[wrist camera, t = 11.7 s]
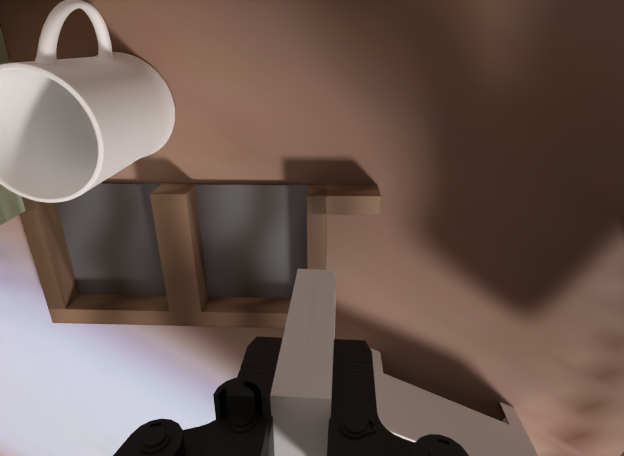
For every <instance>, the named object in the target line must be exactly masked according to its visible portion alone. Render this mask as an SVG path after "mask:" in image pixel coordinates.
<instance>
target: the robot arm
mask: <svg viewBox="0 0 624 456" xmlns="http://www.w3.org/2000/svg"><path fill="white" fill-rule="evenodd" d="M336 271H337V270H318V269H298V270H297V275H296V279H295V284H294V288H293V293H292V298H291V302H290V307H289V311H288V316H287V321H286V325H285V330H284V334H283V338H276V337H256V338H255V339H254V340H253V341H252V342H251V343H250V344H249V345H248V347H247V350H246V353H245V356H244V360H243V362H242V365H241V369H240V371H239V374H238V377H237V378H234V379H231V380H229V381H226V382H225V383H223V384H222V385H221V386H219V387H218V388H217V390H216V391H215V393H214V395H213V396H214V404H215V413H216V420H214V421H213V422H211V423H209V424H206V425H203V426H200V427H195V428H191V429H186V430H182V429H181V427H180V425H179V424H178V423H176V422H174V421H173V420H169V419H158V420H153V421H150V422H148V423H146V424H144V425H142V426H140V427H139V428H138V429H137V430H135V431H134V432H133V433H132V434H131V435H130V436H129V438H128V439H127V440H126V441H125V442H124V443H123V445H122V446H121V447H120V448H119V449H118V451H117V452H116V453H115V454H114V455H113V456H469V455H468V453H467V452H466V451H465V450H464V448H463V447H462V446H461V445H460V444H459V443H457V442H456V441H454V440H453V439H451V438H449V437H446V436H443V435H439V434H429V435H426V436H423V437H420V438H419V439H418V440H417V441H416V442H412V441H409V440H406V439H403V438H401V437H399V436H397V435H394V434H393V433H391V432H390V431H389V430H387V429H386V428H385V426H384V425H383V424H382V423H381V421H380V419H379V417H378V413H377V404H376V392H375V381H374V369H373V358H372V351H371V349H370V348H369V346H368V345H367V343H366V342H365V341H361V340H340V339H335V307H336ZM621 456H624V452H623V453H622V454H621Z"/></svg>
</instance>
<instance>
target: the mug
mask: <svg viewBox="0 0 624 456" xmlns="http://www.w3.org/2000/svg"><path fill="white" fill-rule="evenodd" d="M78 8H80V9H82V10H83V11H84V12H85V13H86V14H87V15H88V16H89V18H90V20H91V22H92V24H93V26H94V29H95V32H96V36H97V40H98V55H96V56H94V57H84V58H70V59H57V56H56V49H57V42H58V37H59V33H60V30H61V28H62V25H63V23H64V21H65V19H66V18H67V17H68V15H69V14H70V13H71V12H72V11H74V10H75V9H78ZM174 122H175V107H174V102H173V98H172V95H171V92H170V90H169V88H168V86H167V84H166V83H165V81H164V80H163V78H162V77H161V76H160V75H159V73H158V72H157V71H156V70H155V69H154V68H153V67H151V66H150V65H149V64H148V63H146V62H145V61H143V60H141V59H139V58H137V57H135V56H133V55H130V54H126V53H121V52H112V45H111V40H110V36H109V32H108V29H107V26H106V24H105V22H104V20H103V18H102V16H101V15H100V13H99V12H98V11H97V10H96V9H95V8H94V7H93V6H92V5H91V4H89V3H87V2H85V1H82V0H65V1H62V2H61V3H59V4H58V5H57V6H55V7H54V9H53V10H52V11H51V12H50V14H49V15H48V17H47V19H46V21H45V23H44V26H43V28H42V31H41V35H40V39H39V44H38V50H37V55H36V59H35V61H29V62H16V63H6V64H1V65H0V184H1V185H3V186H4V187H5V188H7V189H9V190H10V191H12V192H14V193H16V194H18V195H20V196H22V197H25V198H28V199H31V200H35V201H39V202H47V203H56V202H64V201H68V200H71V199H74V198H76V197H78V196H80V195H82V194H84V193H85V192H87V191H88V190H90V189H92V188H93V187H95V186H96V185H98V184H100V183H101V182H103V181H104V180H106V179H108V178H109V177H111V176H112V175H114V174H116V173H117V172H119V171H120V170H122V169H124V168H125V167H127V166H128V165H130V164H132V163H133V162H135V161H136V160H138V159H140V158H143V157H146V156H149V155H151V154H153V153H155V152H157V151H158V150H159V149H161V148H162V147H163V146H164V145H165V143H166V142H167V141H168V139H169V137H170V135H171V133H172V131H173V127H174Z"/></svg>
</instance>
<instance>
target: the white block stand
mask: <svg viewBox="0 0 624 456" xmlns="http://www.w3.org/2000/svg"><path fill="white" fill-rule="evenodd" d="M370 349H371V351H372V358H373V369H374V381H375V392H376V404H377V413H378V417H379V419H380V421H381V423H382V424H383V425H384V426H385V428H386V429H387V430H389V431H390V432H391V433H393V434H394V435H397V436H399V437H401V438H403V439H406V440H409V441H412V442H416V441H417V440H418V439H419V438H420V437H423V436H426V435H429V434H439V435H443V436H446V437H449V438H451V439H453V440H454V441H456V442H457V443H459V444H460V445H461V446H462V447H463V448H464V450H465V451H466V452H467V453H468V455H469V456H538V455H537V453H536V451H535V449H534V447H533V445H532V443H531V441H530V439H529V437H528V435H527V433H526V431H525V429H524V427H523V425H522V423H521V421H520V419H519V417H518V415H517V413H516V411H515V409H514V408H513V407H511V406H509V405H506V404H504V403H501V402H500V404H501V406H502V409H503V411H504V413H505V415H506V417H505V418H504V419H503V420H502V421H499V420H497V419H494V418H492V417H489V416H487V415H485V414H482V413H480V412H477V411H475V410H472V409H470V408H467V407H465V406H463V405H460V404H458V403H455V402H453V401H450V400H448V399H445V398H443V397H441V396H438V395H436V394H433V393H431V392H428V391H426V390H423V389H421V388H419V387H416V386H414V385H411V384H409V383H406V382H404V381H401V380H399V379H396V378H394V377H392V376H389V375H387V374H384V373H383V367H382V361H381V354H380V352H379V351H376V350H374V349H372V348H370Z"/></svg>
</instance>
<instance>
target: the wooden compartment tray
mask: <svg viewBox="0 0 624 456" xmlns="http://www.w3.org/2000/svg"><path fill="white" fill-rule="evenodd" d="M6 63H10V60H9V57H8V53H7V49H6V45H5V42H4V38H3V34H2V31H1V27H0V65H1V64H6ZM380 202H381V195H380V192H379V189H378V186H377V185H336V184H221V183H105V182H101V183H100V184H98V185H96V186H95V187H93V188H92V189H90V190H88V191H87V192H85V193H84V194H82V195H80V196H78V197H76V198H74V199H71V200H68V201H64V202H56V203H47V202H39V201H35V200H31V199H28V198H25V197H22V196H20V195H18V194H16V193H14V192H12V191H10V190H9V189H7V188H5V187H4V186H3V185H1V184H0V225H1V224H3V223H5V222H7V221H8V220H10V219H12V218H14V217H15V216H17V215H19V214H20V216H21V220H22V223H23V226H24V229H25V233H26V236H27V239H28V243H29V246H30V249H31V253H32V256H33V259H34V262H35V266H36V269H37V272H38V276H39V279H40V282H41V286H42V289H43V292H44V295H45V299H46V302H47V305H48V309H49V312H50V315H51V319H52V322H53V323H83V324H129V325H175V326H221V327H267V328H285V325H286V321H287V316H288V311H289V307H290V302H291V298H292V293H293V288H294V284H295V279H296V275H297V270H298V269H318V270H326V215H327V214H358V215H380Z"/></svg>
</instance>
